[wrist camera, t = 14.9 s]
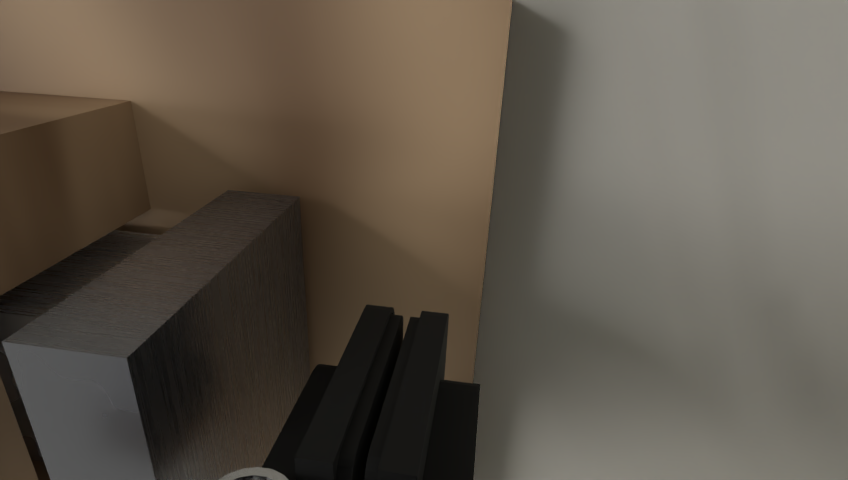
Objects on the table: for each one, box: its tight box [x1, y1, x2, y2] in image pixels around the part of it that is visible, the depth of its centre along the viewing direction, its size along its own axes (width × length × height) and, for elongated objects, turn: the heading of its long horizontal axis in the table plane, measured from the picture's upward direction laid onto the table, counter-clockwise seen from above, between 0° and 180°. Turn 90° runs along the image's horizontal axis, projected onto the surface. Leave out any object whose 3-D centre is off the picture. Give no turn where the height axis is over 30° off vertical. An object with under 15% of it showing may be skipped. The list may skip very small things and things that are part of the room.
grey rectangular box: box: [0, 190, 310, 480], centre depth 10 cm, size 11×6×6 cm, turn 87°
